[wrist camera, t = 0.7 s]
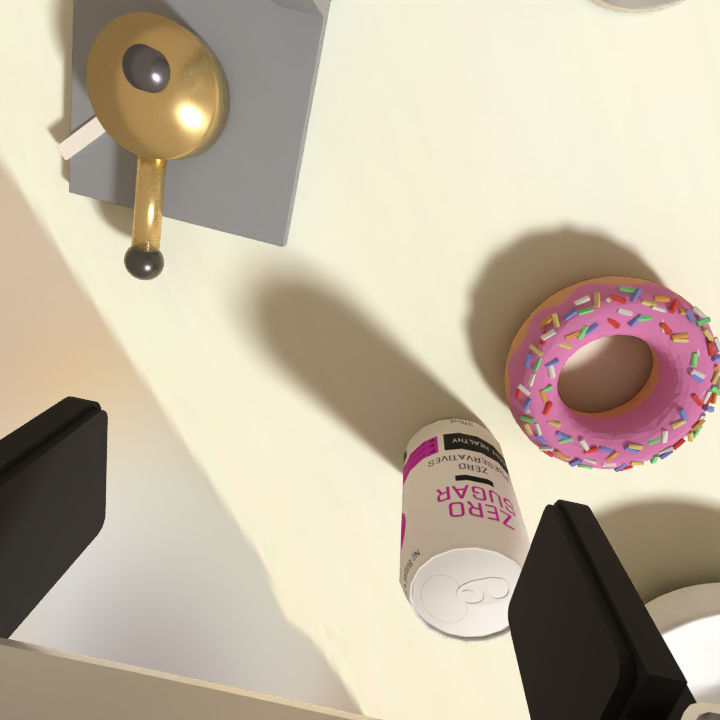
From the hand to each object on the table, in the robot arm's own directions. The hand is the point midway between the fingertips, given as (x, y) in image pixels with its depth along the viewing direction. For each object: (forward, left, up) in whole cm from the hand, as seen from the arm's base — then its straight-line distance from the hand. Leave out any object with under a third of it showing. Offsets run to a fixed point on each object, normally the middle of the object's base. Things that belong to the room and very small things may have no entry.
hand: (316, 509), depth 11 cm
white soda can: (+15, +9, -30) cm, 34 cm away
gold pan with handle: (-3, -17, -28) cm, 33 cm away
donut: (+4, +17, -30) cm, 35 cm away
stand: (-9, -16, -29) cm, 35 cm away
